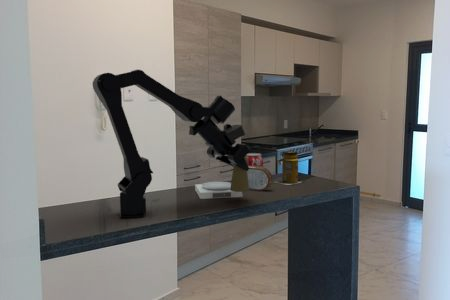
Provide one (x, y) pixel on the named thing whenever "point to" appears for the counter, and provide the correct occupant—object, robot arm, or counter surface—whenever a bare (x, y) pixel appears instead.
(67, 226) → the counter surface
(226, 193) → the scale
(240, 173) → the cork
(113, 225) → the counter surface
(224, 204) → the counter surface
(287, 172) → the condiment
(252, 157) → the soda can
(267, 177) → the tin
